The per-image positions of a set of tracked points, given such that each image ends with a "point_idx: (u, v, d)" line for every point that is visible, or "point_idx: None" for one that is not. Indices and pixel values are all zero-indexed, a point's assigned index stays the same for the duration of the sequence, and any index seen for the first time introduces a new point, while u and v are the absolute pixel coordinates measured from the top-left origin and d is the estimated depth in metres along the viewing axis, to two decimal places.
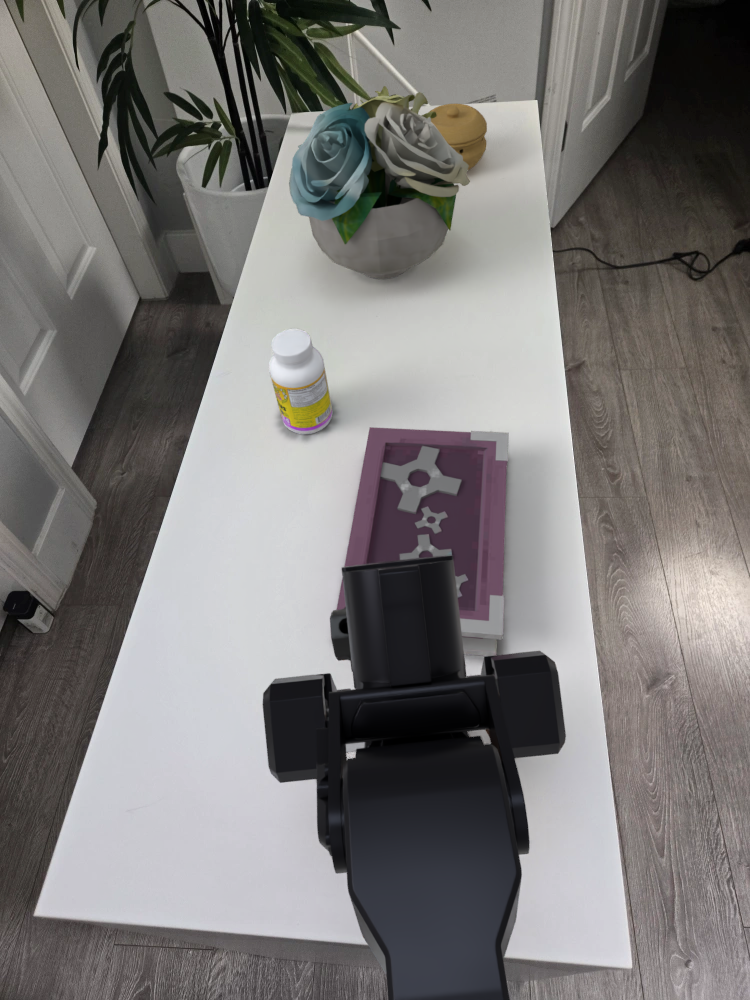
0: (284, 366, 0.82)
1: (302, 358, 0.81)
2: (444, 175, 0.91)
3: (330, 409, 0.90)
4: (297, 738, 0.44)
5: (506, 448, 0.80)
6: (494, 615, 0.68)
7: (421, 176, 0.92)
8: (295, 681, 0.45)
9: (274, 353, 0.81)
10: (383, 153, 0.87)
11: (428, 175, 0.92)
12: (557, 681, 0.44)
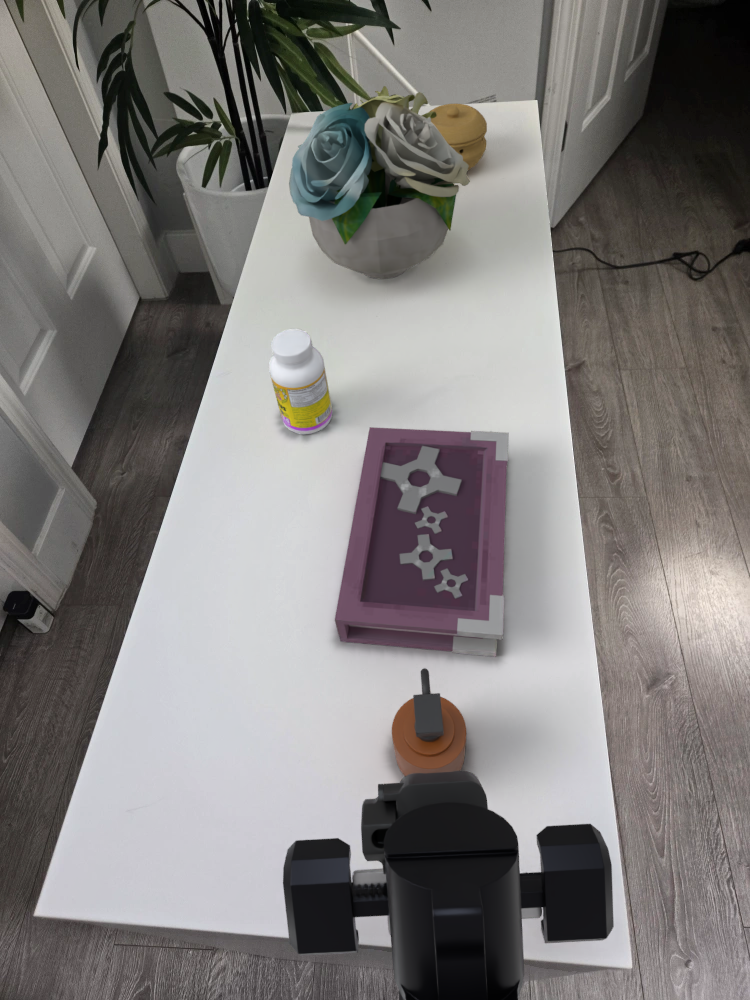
0: (284, 366, 0.82)
1: (302, 358, 0.81)
2: (444, 175, 0.91)
3: (330, 409, 0.90)
4: (321, 922, 0.40)
5: (506, 448, 0.80)
6: (494, 615, 0.68)
7: (421, 176, 0.92)
8: (319, 858, 0.41)
9: (274, 353, 0.81)
10: (383, 153, 0.87)
11: (428, 175, 0.92)
12: (610, 874, 0.40)
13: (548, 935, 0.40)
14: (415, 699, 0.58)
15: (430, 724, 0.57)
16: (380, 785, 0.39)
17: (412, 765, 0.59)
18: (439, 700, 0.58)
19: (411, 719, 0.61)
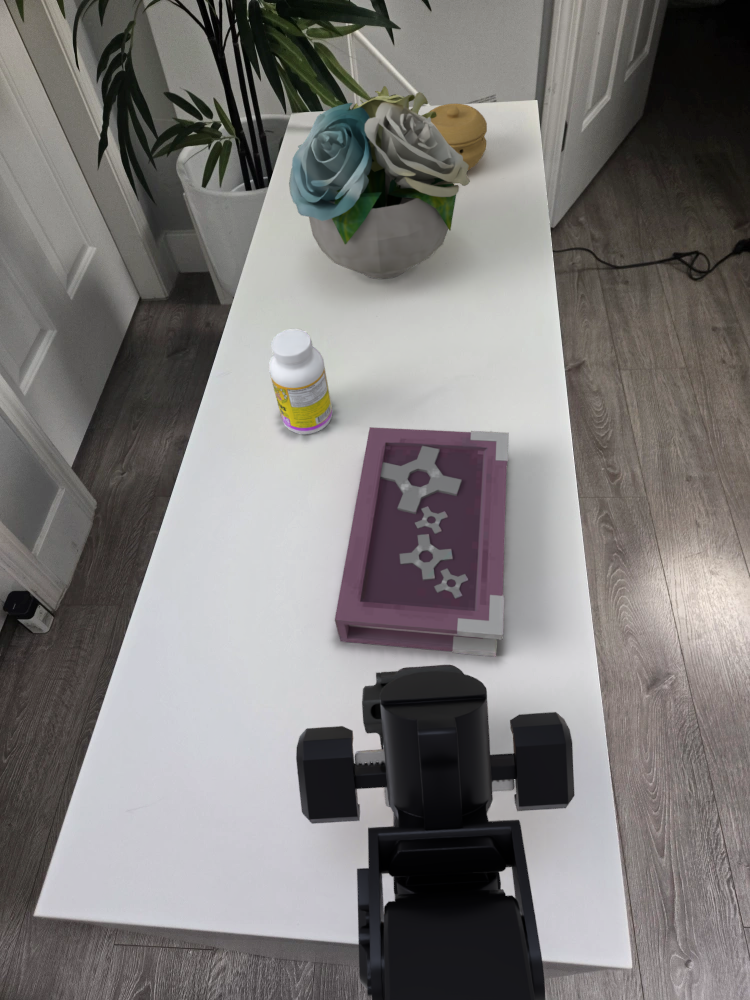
0: (284, 366, 0.82)
1: (302, 358, 0.81)
2: (444, 175, 0.91)
3: (330, 409, 0.90)
4: (328, 791, 0.48)
5: (506, 448, 0.80)
6: (494, 615, 0.68)
7: (421, 176, 0.92)
8: (326, 739, 0.48)
9: (274, 353, 0.81)
10: (383, 153, 0.87)
11: (428, 175, 0.92)
12: (571, 749, 0.47)
13: (519, 801, 0.48)
14: None
15: None
16: (378, 673, 0.46)
17: None
18: None
19: None
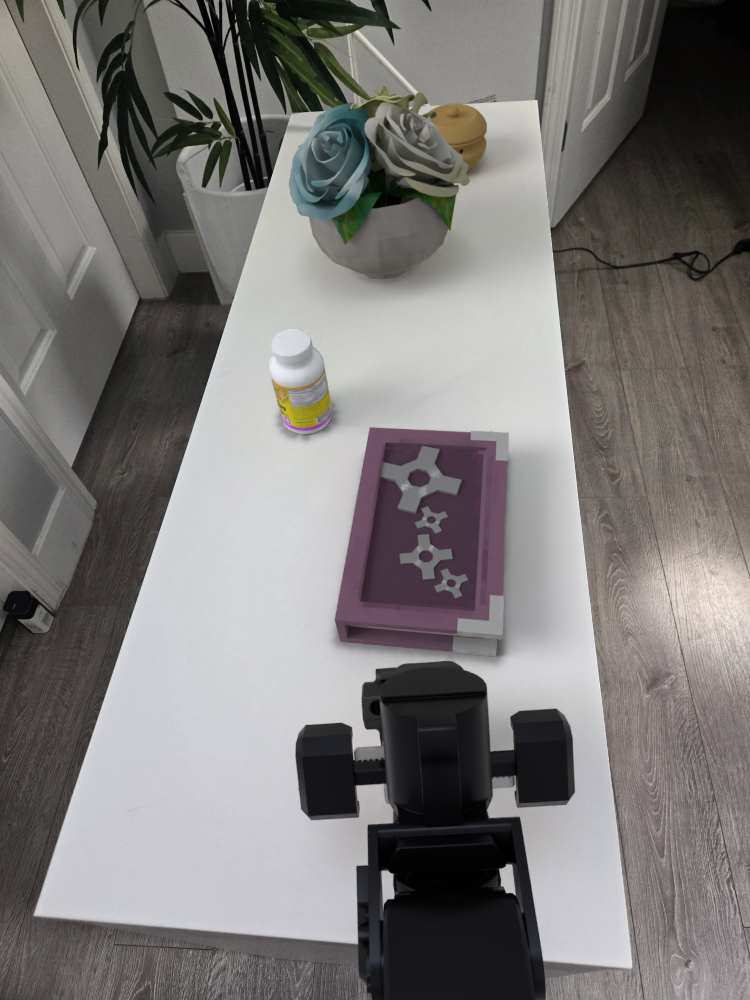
0: (284, 366, 0.82)
1: (302, 358, 0.81)
2: (444, 175, 0.91)
3: (330, 409, 0.90)
4: (327, 788, 0.48)
5: (506, 448, 0.80)
6: (494, 615, 0.68)
7: (421, 176, 0.92)
8: (325, 735, 0.48)
9: (274, 353, 0.81)
10: (383, 153, 0.87)
11: (428, 175, 0.92)
12: (571, 746, 0.47)
13: (519, 798, 0.47)
14: None
15: None
16: (377, 669, 0.46)
17: None
18: None
19: None
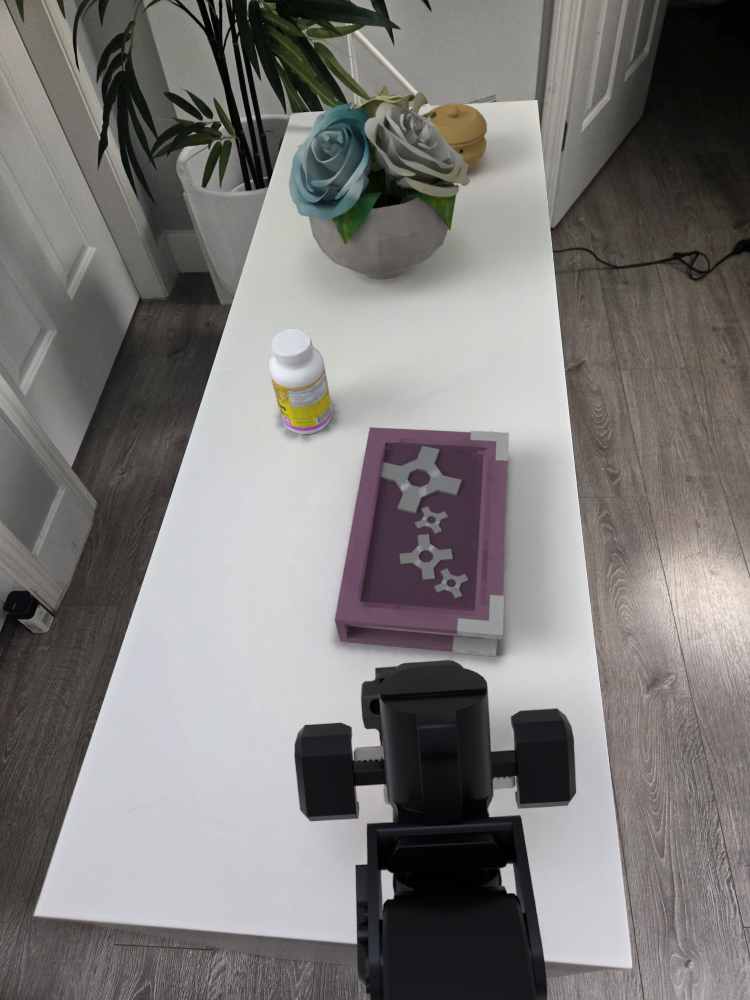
0: (284, 366, 0.82)
1: (302, 358, 0.81)
2: (444, 175, 0.91)
3: (330, 409, 0.90)
4: (327, 789, 0.47)
5: (506, 448, 0.80)
6: (494, 615, 0.68)
7: (421, 176, 0.92)
8: (325, 735, 0.48)
9: (274, 353, 0.81)
10: (383, 153, 0.87)
11: (428, 175, 0.92)
12: (572, 746, 0.47)
13: (520, 799, 0.47)
14: None
15: None
16: (377, 668, 0.46)
17: None
18: None
19: None
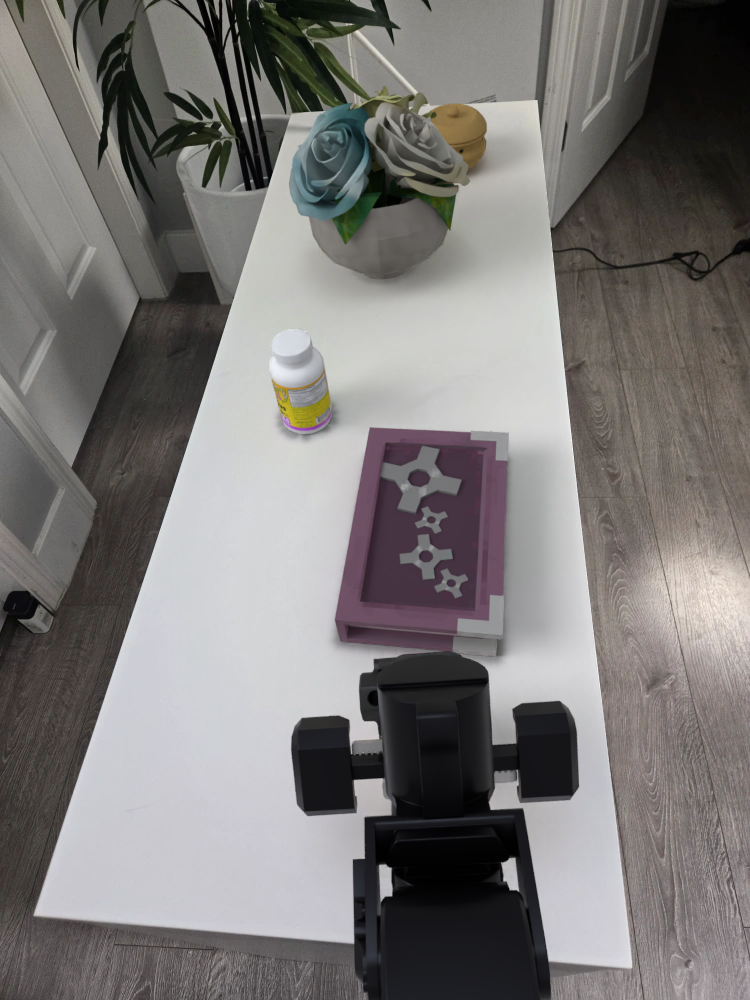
0: (284, 366, 0.82)
1: (302, 358, 0.81)
2: (444, 175, 0.91)
3: (330, 409, 0.90)
4: (324, 783, 0.46)
5: (506, 448, 0.80)
6: (494, 615, 0.68)
7: (421, 176, 0.92)
8: (322, 728, 0.47)
9: (274, 353, 0.81)
10: (383, 153, 0.87)
11: (428, 175, 0.92)
12: (575, 739, 0.46)
13: (522, 793, 0.46)
14: None
15: None
16: (375, 659, 0.45)
17: None
18: None
19: None
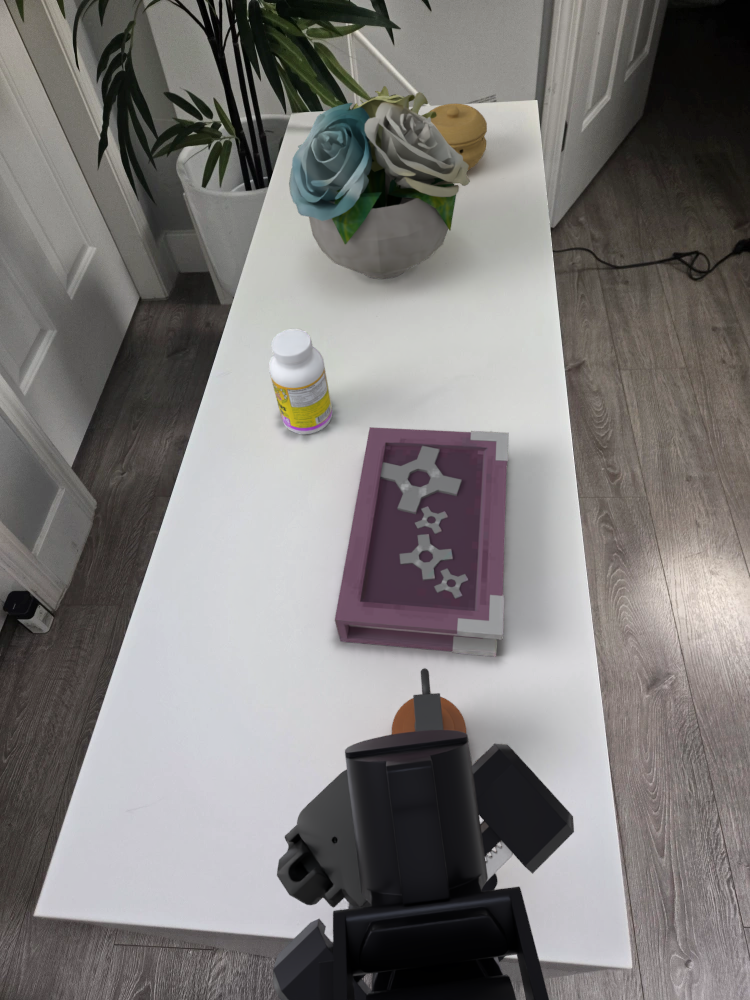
0: (284, 366, 0.82)
1: (302, 358, 0.81)
2: (444, 175, 0.91)
3: (330, 409, 0.90)
4: None
5: (506, 448, 0.80)
6: (494, 615, 0.68)
7: (421, 176, 0.92)
8: (294, 948, 0.40)
9: (274, 353, 0.81)
10: (383, 153, 0.87)
11: (428, 175, 0.92)
12: (525, 767, 0.41)
13: (520, 860, 0.40)
14: (415, 699, 0.58)
15: (430, 724, 0.57)
16: (286, 834, 0.40)
17: None
18: (439, 700, 0.58)
19: (411, 719, 0.61)
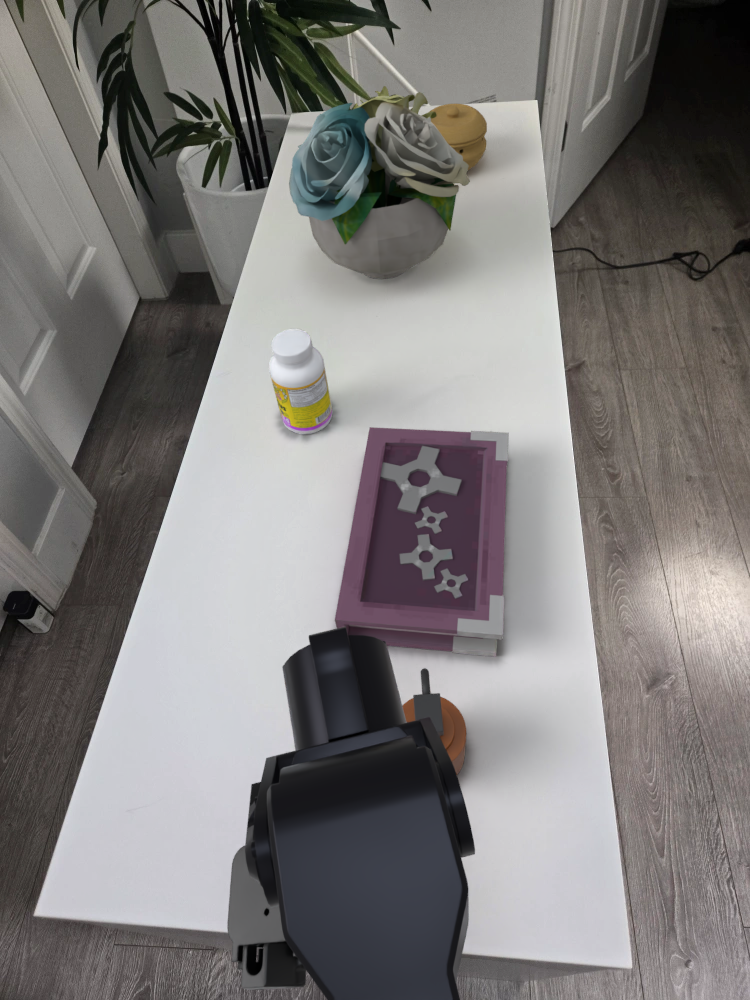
0: (284, 366, 0.82)
1: (302, 358, 0.81)
2: (444, 175, 0.91)
3: (330, 409, 0.90)
4: None
5: (506, 448, 0.80)
6: (494, 615, 0.68)
7: (421, 176, 0.92)
8: None
9: (274, 353, 0.81)
10: (383, 153, 0.87)
11: (428, 175, 0.92)
12: None
13: None
14: (415, 699, 0.58)
15: None
16: (237, 966, 0.37)
17: None
18: (439, 700, 0.58)
19: (411, 719, 0.61)
